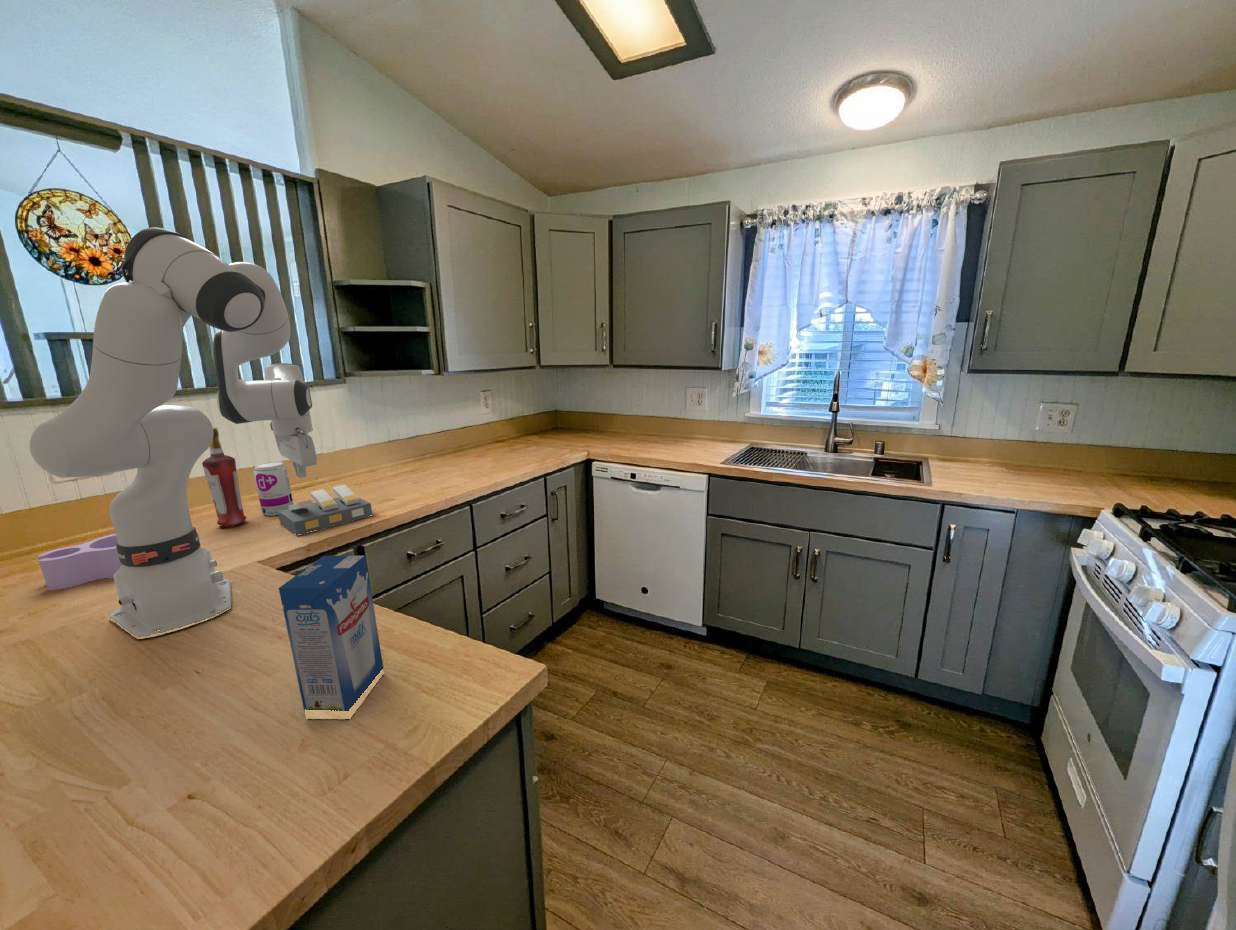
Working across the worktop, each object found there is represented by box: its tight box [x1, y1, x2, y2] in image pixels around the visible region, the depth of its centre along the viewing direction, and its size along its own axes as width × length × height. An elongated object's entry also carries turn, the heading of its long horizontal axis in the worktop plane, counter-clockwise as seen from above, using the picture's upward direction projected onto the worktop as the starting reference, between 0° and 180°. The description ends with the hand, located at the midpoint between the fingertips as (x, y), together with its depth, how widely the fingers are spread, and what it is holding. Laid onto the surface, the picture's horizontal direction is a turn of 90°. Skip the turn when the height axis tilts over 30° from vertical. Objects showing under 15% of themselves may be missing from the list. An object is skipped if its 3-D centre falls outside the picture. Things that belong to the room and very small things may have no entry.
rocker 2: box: [310, 488, 338, 511], centre depth 147 cm, size 10×4×1 cm, turn 48°
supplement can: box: [253, 461, 294, 517], centre depth 154 cm, size 8×8×15 cm
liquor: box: [201, 427, 248, 528], centre depth 143 cm, size 7×7×28 cm
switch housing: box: [278, 496, 373, 536], centre depth 148 cm, size 14×20×5 cm
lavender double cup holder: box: [37, 533, 122, 591], centre depth 118 cm, size 20×12×7 cm, turn 140°
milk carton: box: [278, 554, 384, 711], centre depth 72 cm, size 10×6×20 cm, turn 178°
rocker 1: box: [289, 499, 314, 510], centre depth 142 cm, size 10×4×1 cm, turn 47°
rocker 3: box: [332, 484, 360, 505], centre depth 151 cm, size 10×4×1 cm, turn 49°
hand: (301, 476), depth 138 cm, fingers closed
